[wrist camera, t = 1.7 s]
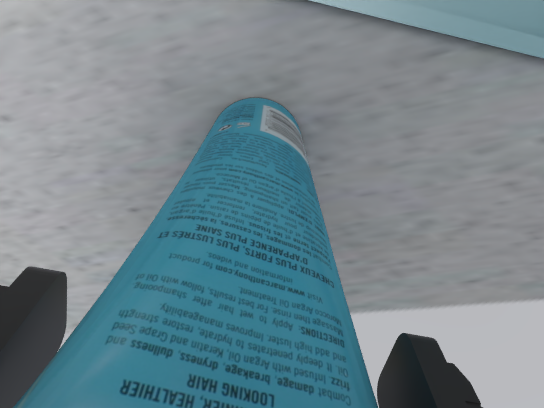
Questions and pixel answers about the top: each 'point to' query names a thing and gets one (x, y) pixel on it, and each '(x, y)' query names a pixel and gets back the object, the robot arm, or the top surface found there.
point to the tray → (465, 19)
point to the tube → (222, 292)
